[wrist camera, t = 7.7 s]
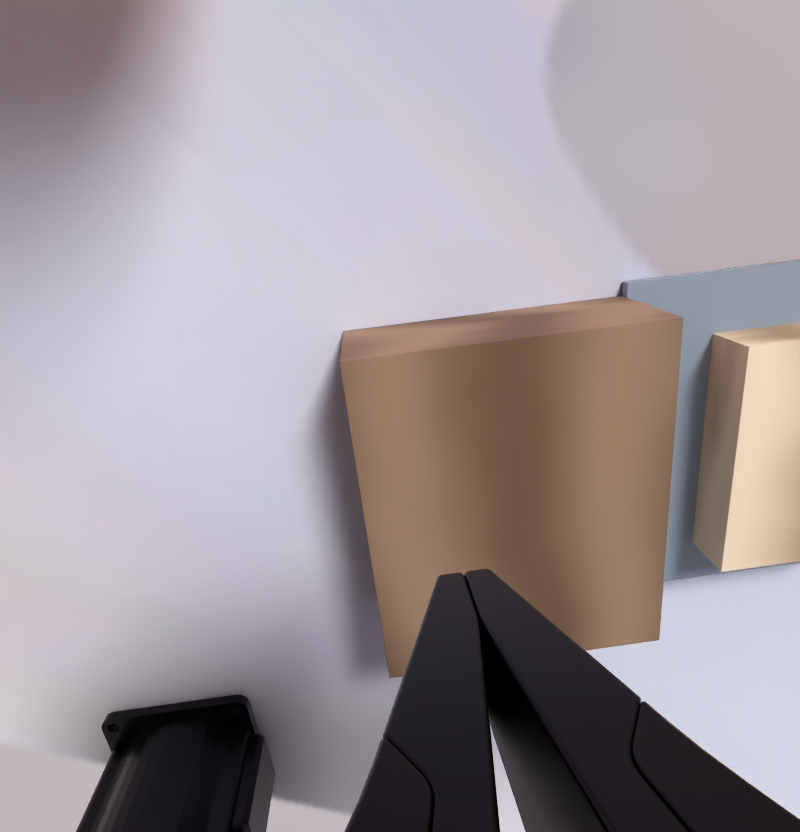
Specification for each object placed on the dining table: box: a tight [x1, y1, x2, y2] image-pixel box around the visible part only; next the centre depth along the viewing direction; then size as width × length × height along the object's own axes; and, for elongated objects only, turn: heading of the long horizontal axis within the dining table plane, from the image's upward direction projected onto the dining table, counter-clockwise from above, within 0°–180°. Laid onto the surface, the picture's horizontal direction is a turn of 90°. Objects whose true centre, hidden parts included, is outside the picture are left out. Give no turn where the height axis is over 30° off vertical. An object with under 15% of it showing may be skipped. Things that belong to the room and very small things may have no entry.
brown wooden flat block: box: [339, 296, 683, 678], centre depth 20 cm, size 10×12×4 cm
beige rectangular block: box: [692, 323, 800, 572], centre depth 21 cm, size 6×9×2 cm, turn 6°
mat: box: [622, 259, 800, 581], centre depth 22 cm, size 10×13×1 cm
